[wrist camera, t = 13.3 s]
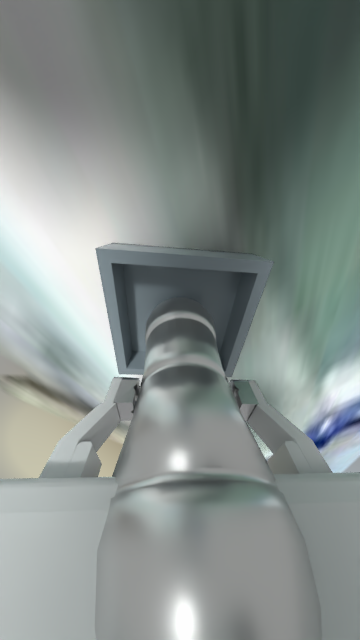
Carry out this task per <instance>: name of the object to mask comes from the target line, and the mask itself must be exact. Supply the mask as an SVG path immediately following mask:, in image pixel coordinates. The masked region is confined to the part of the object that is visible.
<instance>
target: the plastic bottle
mask: <svg viewBox="0 0 360 640" xmlns="http://www.w3.org/2000/svg"><path fill="white" fill-rule="evenodd" d="M145 341H146V355H145V366H144V374H143V378H142V382H141V388H140V391H139V394H138V398H137V401H136V405H135V409H134V413H133V417H132V421H131V424H130V426H129V429H128V432H127V435H126V438H125V441H124V444H123V447H122V449H121V452H120V455H119V458H118V461H117V464H116V467H115V470H114V472H113V475H112V477H115V478H116V482H115V483H117V484H118V486H117V490H116V494H115V497H113V498H111V502H110V507H109V511H108V515H107V519H106V522H105V526H104V529H103V532H102V536H101V539H100V542H99V546H98V549H97V570H96V601H95V634H96V640H322V624H321V606H320V602H319V597H318V593H317V589H316V585H315V580H314V576H313V572H312V568H311V564H310V560H309V555H308V551H307V547H306V543H305V539H304V537H303V535H302V533H301V531H300V529H299V527H298V525H297V522H296V520H295V518H294V516H293V514H292V512H291V510H290V507H289V505H288V503H287V501H286V498H285V496H284V494H283V493H282V492H280V491H279V489H278V487H277V485H276V483H275V481H274V480H276V479H275V477H274V475H273V473H272V471H271V469H270V467H269V465H268V463H267V461H266V459H265V458H264V456H263V454H262V452H261V450H260V448H259V446H258V444H257V442H256V440H255V438H254V436H253V435H252V433H251V431H250V429H249V427H248V425H247V423H246V421H245V419H244V417H243V415H242V413H241V411H240V409H239V406H238V404H237V402H236V399H235V397H234V394H233V392H232V390H231V387H230V385H229V384H228V381H227V378H226V375H225V373H224V371H223V368H222V365H221V361H220V357H219V353H218V348H217V344H216V333H215V327H214V322H213V319H212V317H211V315H210V314H209V313H208V312H207V310H206V309H205V308H204V307H203V306H202V305H201V304H200V303H198V302H196V301H194V300H192V299H189V298H183V297H178V298H171V299H168V300H165V301H163V302H161V303H160V304H159V305H157V306H156V308H155V309H154V310H153V311H152V313H151V314H150V316H149V318H148V320H147V323H146V331H145Z"/></svg>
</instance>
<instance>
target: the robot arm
mask: <svg viewBox="0 0 360 640" xmlns="http://www.w3.org/2000/svg"><path fill="white" fill-rule="evenodd" d="M139 382H140V380H139V378H126V377H114V378H113V380H112V382H111V385H110V387H109V390H108V392H107V395H106V397H105V400H104V402H103V403H100V404H99V405H98V406H97V407H95V408H94V409H93V410H92V411H91V412H90V413H89V414H88V415H87V416H86V417H84V418H83V419H82V420H81V421H80V422H79V423H78V424H77V425H76V426H74V427H73V428H72V429H71V430H70V431H69V432H68V433H67V434H66V435H65V436H64V437H62V438H61V439H60V440H59V441H58V443H57V445H56V447H55V449H54V451H53V453H52V455H51V456H50V458H49V460H48V462H47V464H46V466H45V467H44V469H43V471H42V473H41V475H40V477H39V478H27V479H26V478H23V479H0V640H96V634H95V601H96V570H97V549H98V546H99V542H100V539H101V536H102V532H103V529H104V526H105V522H106V519H107V515H108V511H109V507H110V502H111V498H113V497H115V494H116V490H117V486H118V484H117V483H115V482H116V478H115V477H98V475H99V472H100V468H101V465H102V464H101V461H100V459H99V457H98V455H97V453H96V452H97V451H98V449H99V448H100V447H101V446H102V444H103V443H104V442H105V441H106V439H107V438H108V437H109V435H110V434H111V433H112V432H113V430H114V429H115V428H116V426H117V425H118V424H119V423H120V421H124V420H132V417H133V413H134V409H135V405H136V401H137V398H138V394H139V391H140V386H139ZM229 384H230V387H231V390H232V392H233V394H234V397H235V399H236V402H237V404H238V406H239V409H240V411H241V413H242V415H243V417H244V419H245V421H247V423H248V424H249V425H250V426H251V427H252V429H253V430H254V431H255V432H256V433H257V435H258V436H259V437H260V438H261V439H262V441H263V442H264V443H265V444H266V445H267V447H268V448H269V449H270V450H271V452H272V453H273V455H272V456H271V457H270V458H269V459H268V461H267V463H268V465H269V467H270V469H271V471H272V473H273V475H274V477H275V479H276V480H274V481H275V483H276V485H277V487H278V489H279V491H280V492H282V493H283V494H284V496H285V498H286V501H287V503H288V505H289V507H290V510H291V512H292V514H293V516H294V518H295V520H296V522H297V525H298V527H299V529H300V531H301V533H302V535H303V537H304V539H305V543H306V547H307V551H308V555H309V560H310V564H311V568H312V572H313V576H314V580H315V585H316V589H317V593H318V597H319V602H320V606H321V624H322V640H360V472H355V473H332V471H331V469H330V468H329V466H328V465H327V463H326V462H325V460H324V458H323V457H322V455H321V454H320V452H319V451H318V449H317V447H316V446H315V444H314V443H313V441H312V440H311V439H310V438H309V437H308V436H306V435H305V434H304V433H303V432H302V431H300V430H299V429H298V428H297V427H296V426H295V425H293V424H292V423H291V422H290V421H289V420H288V419H286V418H285V417H284V416H283V415H282V414H280V413H279V412H278V411H277V410H276V409H275V408H273V407H272V406H271V405H268V404H267V402H266V400H265V398H264V396H263V394H262V392H261V390H260V389H259V387H258V385H257V383H256V381H254V380H231V381H230V383H229Z"/></svg>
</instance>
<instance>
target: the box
mask: <svg viewBox="0 0 360 640" xmlns="http://www.w3.org/2000/svg"><path fill="white" fill-rule="evenodd" d="M96 254H97V259H98V264H99V270H100V275H101V280H102V286H103V291H104V297H105V302H106V307H107V313H108V318H109V323H110V329H111V334H112V340H113V345H114V350H115V356H116V361H117V366H118V372H119V374H138V375H143V374H144V366H145V355H146V341H145V331H146V323H147V320H148V318H149V316H150V314H151V313H152V311H153V310H154V309H155V308H156V306H157V305H159V304H160V303H161V302H163V301H165V300H168V299H171V298H178V297H183V298H189V299H192V300H194V301H196V302H198V303H200V304H201V305H202V306H203V307H204V308H205V309H206V310H207V312H208V313H209V314H210V315H211V317H212V319H213V322H214V327H215V333H216V344H217V348H218V353H219V357H220V361H221V365H222V368H223V371H224V373H225V375H226V377H232V374H233V371H234V369H235V366H236V363H237V361H238V358H239V355H240V352H241V350H242V347H243V344H244V342H245V339H246V336H247V334H248V331H249V328H250V325H251V323H252V320H253V317H254V315H255V312H256V309H257V306H258V304H259V301H260V298H261V296H262V293H263V290H264V288H265V285H266V282H267V279H268V277H269V274H270V271H271V269H272V266H273V263H274V262H273V261H271V260H268V259H265V258H262V257H260V256H257V255H254V254H247V253H235V252H222V251H209V250H197V249H184V248H172V247H159V246H146V245H134V244H121V243H111V244H108V245H104V246H101V247H98V248H96Z"/></svg>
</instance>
